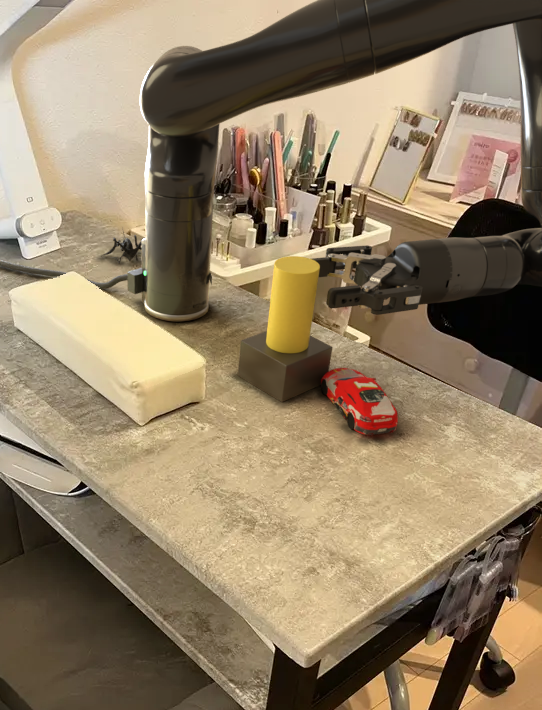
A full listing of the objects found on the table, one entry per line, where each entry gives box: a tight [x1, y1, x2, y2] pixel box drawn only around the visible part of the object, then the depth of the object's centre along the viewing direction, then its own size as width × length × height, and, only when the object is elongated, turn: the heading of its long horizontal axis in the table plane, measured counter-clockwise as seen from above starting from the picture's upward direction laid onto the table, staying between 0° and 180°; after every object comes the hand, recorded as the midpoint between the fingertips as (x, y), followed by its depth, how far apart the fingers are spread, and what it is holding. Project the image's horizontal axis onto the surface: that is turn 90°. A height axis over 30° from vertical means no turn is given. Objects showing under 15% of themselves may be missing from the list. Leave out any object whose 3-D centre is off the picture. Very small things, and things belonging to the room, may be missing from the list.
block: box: [237, 330, 334, 403], centre depth 96 cm, size 8×8×5 cm
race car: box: [320, 367, 399, 436], centre depth 91 cm, size 13×5×4 cm, turn 12°
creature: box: [100, 227, 145, 264], centre depth 126 cm, size 8×5×8 cm
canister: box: [266, 255, 320, 353], centre depth 91 cm, size 5×5×10 cm
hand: (313, 283), depth 90 cm, fingers open, 8 cm apart
